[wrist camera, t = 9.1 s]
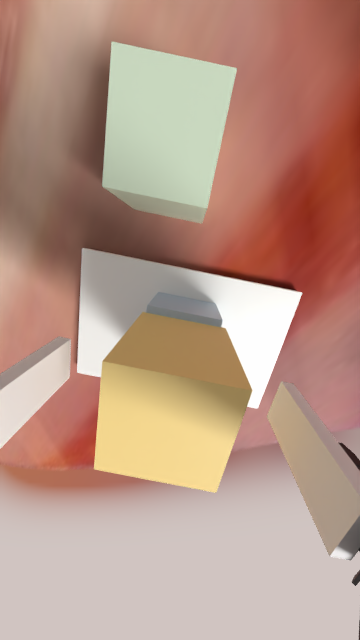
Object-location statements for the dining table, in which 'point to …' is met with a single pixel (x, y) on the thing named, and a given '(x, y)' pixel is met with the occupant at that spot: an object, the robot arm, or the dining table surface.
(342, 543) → the robot arm
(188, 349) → the ochre brick
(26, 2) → the dining table surface
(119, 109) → the sage brick
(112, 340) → the plate
